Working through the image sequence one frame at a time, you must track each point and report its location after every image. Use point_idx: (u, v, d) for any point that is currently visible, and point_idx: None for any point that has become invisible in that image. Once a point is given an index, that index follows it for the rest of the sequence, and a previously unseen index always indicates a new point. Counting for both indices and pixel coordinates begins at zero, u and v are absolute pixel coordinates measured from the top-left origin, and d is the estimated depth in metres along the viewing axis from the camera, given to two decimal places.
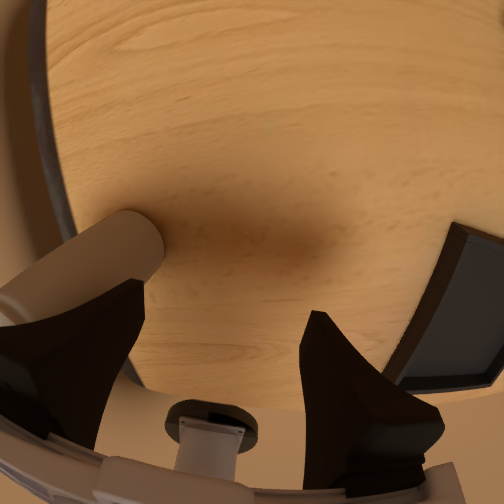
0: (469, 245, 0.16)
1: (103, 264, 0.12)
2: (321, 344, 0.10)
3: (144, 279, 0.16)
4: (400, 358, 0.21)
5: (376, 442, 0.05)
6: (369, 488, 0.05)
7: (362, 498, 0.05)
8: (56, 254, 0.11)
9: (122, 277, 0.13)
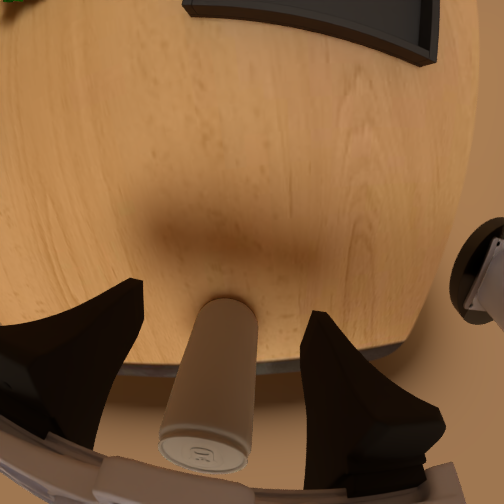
0: None
1: (188, 358, 0.16)
2: (322, 344, 0.10)
3: (232, 325, 0.19)
4: (378, 44, 0.13)
5: (377, 442, 0.05)
6: (370, 488, 0.05)
7: (363, 498, 0.05)
8: None
9: (205, 346, 0.17)
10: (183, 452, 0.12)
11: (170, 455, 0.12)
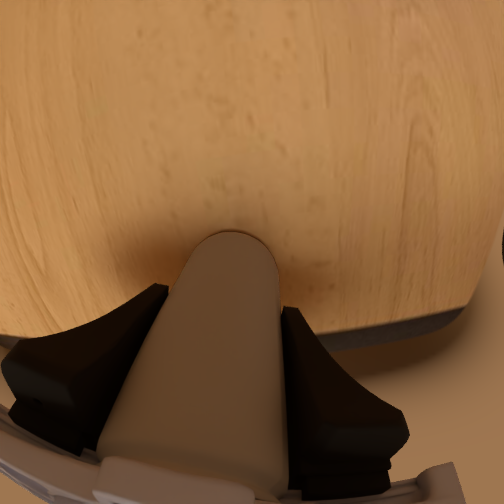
0: None
1: (163, 312, 0.09)
2: (288, 340, 0.10)
3: (242, 262, 0.12)
4: None
5: (328, 444, 0.05)
6: (325, 492, 0.05)
7: (320, 502, 0.05)
8: None
9: (196, 289, 0.10)
10: None
11: None
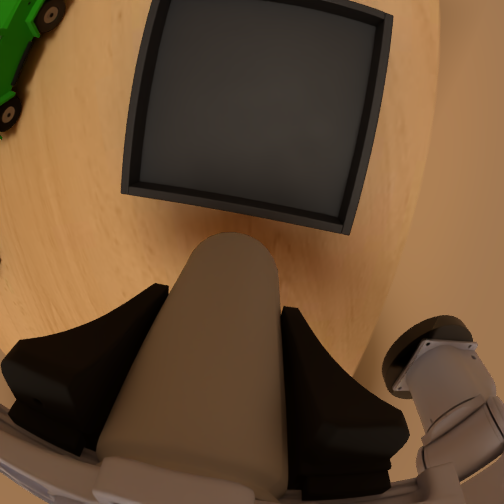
0: (130, 189, 0.18)
1: (163, 312, 0.09)
2: (289, 340, 0.10)
3: (242, 262, 0.12)
4: None
5: (328, 444, 0.05)
6: (325, 492, 0.05)
7: (319, 502, 0.05)
8: None
9: (195, 290, 0.10)
10: None
11: None
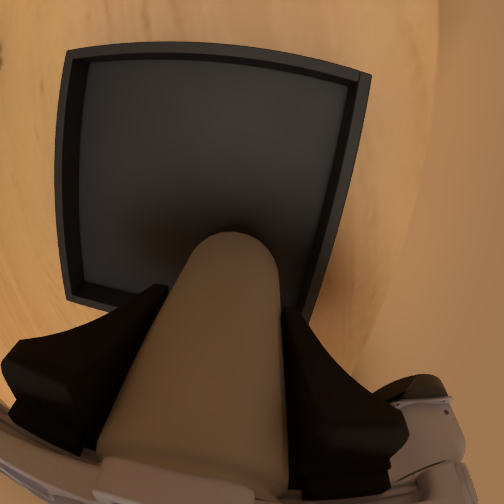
0: (74, 297, 0.16)
1: (163, 312, 0.09)
2: (289, 340, 0.10)
3: (242, 261, 0.12)
4: None
5: (328, 444, 0.05)
6: (325, 492, 0.05)
7: (319, 502, 0.05)
8: None
9: (196, 289, 0.10)
10: None
11: None
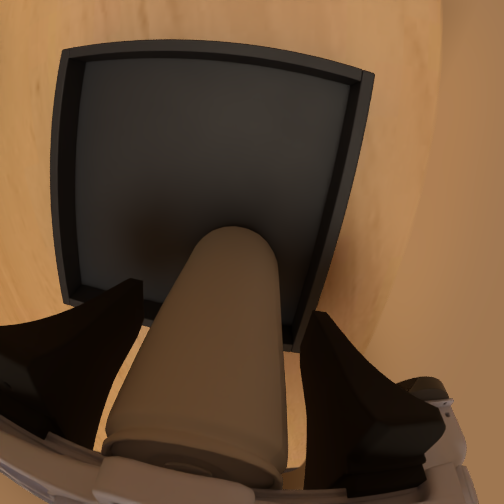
0: (71, 301, 0.16)
1: (170, 298, 0.10)
2: (322, 344, 0.10)
3: (243, 253, 0.12)
4: None
5: (377, 442, 0.05)
6: (370, 488, 0.05)
7: (363, 498, 0.05)
8: None
9: (200, 277, 0.10)
10: None
11: None
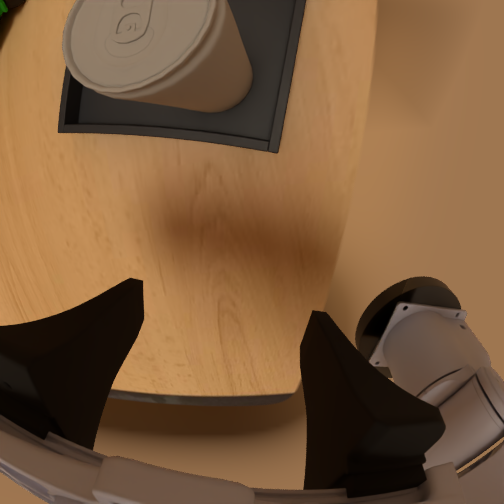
0: (65, 126, 0.16)
1: None
2: (322, 344, 0.10)
3: None
4: None
5: (377, 442, 0.05)
6: (370, 488, 0.05)
7: (363, 498, 0.05)
8: None
9: None
10: (102, 18, 0.05)
11: (76, 49, 0.06)
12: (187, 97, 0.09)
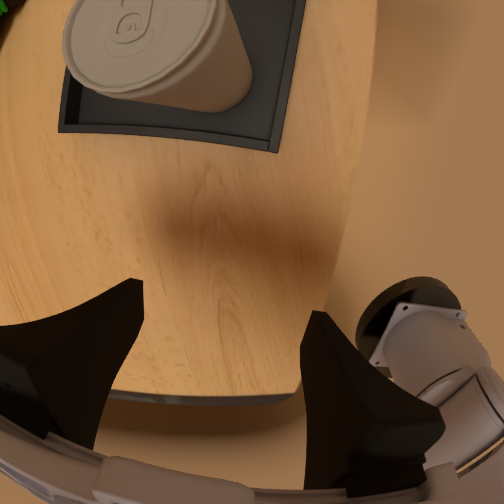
0: (65, 126, 0.16)
1: None
2: (322, 344, 0.10)
3: None
4: None
5: (377, 442, 0.05)
6: (370, 488, 0.05)
7: (363, 498, 0.05)
8: None
9: None
10: (102, 18, 0.05)
11: (76, 49, 0.06)
12: (187, 97, 0.09)
